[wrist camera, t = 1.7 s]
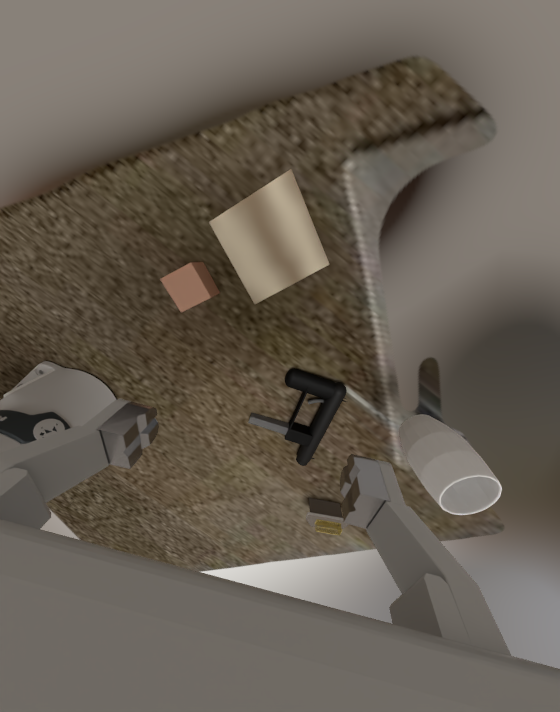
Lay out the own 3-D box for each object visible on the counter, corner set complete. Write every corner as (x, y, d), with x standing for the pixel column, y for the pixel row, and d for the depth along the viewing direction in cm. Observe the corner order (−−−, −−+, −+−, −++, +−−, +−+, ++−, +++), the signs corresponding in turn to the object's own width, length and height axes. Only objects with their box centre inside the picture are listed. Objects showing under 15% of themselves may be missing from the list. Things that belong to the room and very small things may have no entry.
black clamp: (239, 446, 46) (313, 470, 47) (269, 363, 38) (356, 392, 39) (243, 435, 49) (312, 457, 50) (271, 356, 42) (352, 383, 43)
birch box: (259, 297, 36) (254, 304, 31) (221, 228, 32) (208, 222, 27) (322, 263, 34) (329, 264, 29) (289, 185, 30) (291, 169, 25)
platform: (348, 521, 59) (355, 551, 53) (281, 510, 58) (281, 539, 52) (366, 492, 54) (376, 521, 48) (294, 478, 53) (295, 506, 47)
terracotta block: (193, 305, 37) (181, 312, 32) (176, 276, 35) (160, 279, 30) (220, 292, 36) (210, 297, 31) (203, 261, 34) (190, 262, 30)
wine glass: (362, 381, 42) (428, 483, 23) (401, 367, 41) (506, 463, 21) (372, 410, 44) (439, 524, 25) (409, 398, 43) (509, 508, 24)
